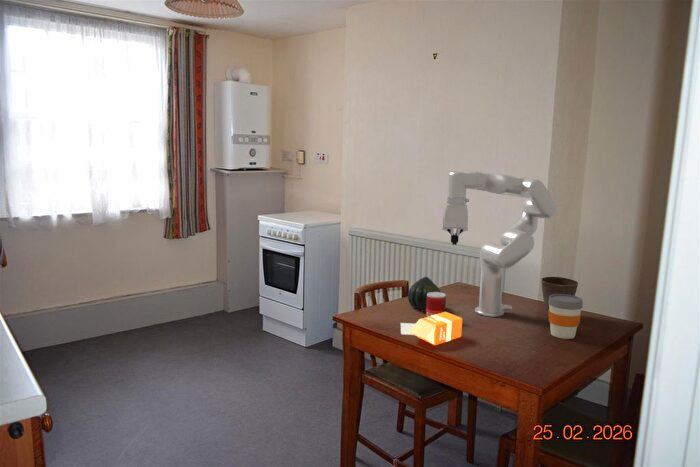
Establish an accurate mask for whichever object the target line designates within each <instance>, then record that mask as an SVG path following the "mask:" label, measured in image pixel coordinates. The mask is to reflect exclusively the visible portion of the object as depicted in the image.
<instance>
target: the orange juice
mask: <svg viewBox="0 0 700 467" xmlns="http://www.w3.org/2000/svg"><path fill="white" fill-rule="evenodd" d="M414 324H415V325H414V326H413V327H412V328H411V329H410V331H409V332H410V333H412V334H414V335H413V336H416V337H417V339H418V338H419V339H421V340H423V341H425V342H426V343H429V344H431V345H432V346H438V345H440V344H443V343H447V342H450V341H452V340H455V339H459V338H461V337H462V328H463V327H462V326H463V318H462V317H460V316H457V315H455V314H452V313H450V312H447V311H445V312H443V313H439V314H436V315H432V316H429V317H426V316H425V317H422V318H419V319H418V320H417V321H416V323H414Z"/></svg>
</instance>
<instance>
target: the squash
mask: <svg viewBox="0 0 700 467" xmlns="http://www.w3.org/2000/svg"><path fill="white" fill-rule="evenodd" d="M429 292H440V293H442V292H441V289H440V288H439V287H438V286H437V285H436V283H434V282H433V280H431V278H429V277H428V276H424V277H422V278H420V279H418V280H417V281H415V282H414V283H413V284H412V285H411V286H410V288H409V290H408V293H407V300H408V302H409V305H410V306H411V307H412V308H415V309H423V310H424V311H425V312H426V307H427V293H429Z"/></svg>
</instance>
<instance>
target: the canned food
mask: <svg viewBox="0 0 700 467" xmlns="http://www.w3.org/2000/svg"><path fill="white" fill-rule="evenodd" d="M440 292H441V291H440ZM440 292H429V293H427V307H426V311H425V312H426V313H425V317H429V316H432V315H436V314H439V313H443V312H446V302H447V301H446V300H447V295H446V294H445V293H444V292H441V293H440Z"/></svg>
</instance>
